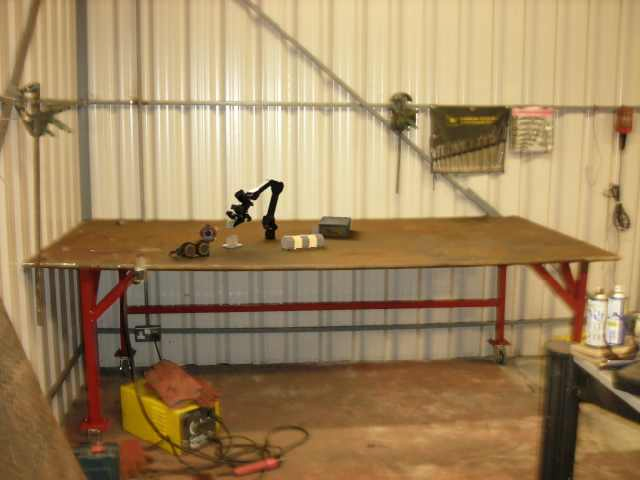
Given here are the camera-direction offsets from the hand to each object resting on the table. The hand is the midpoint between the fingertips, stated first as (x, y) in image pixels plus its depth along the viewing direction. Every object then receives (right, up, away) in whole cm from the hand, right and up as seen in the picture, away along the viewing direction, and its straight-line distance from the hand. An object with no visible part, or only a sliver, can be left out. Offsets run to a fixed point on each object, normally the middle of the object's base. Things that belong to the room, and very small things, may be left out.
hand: (232, 226), depth 414 cm
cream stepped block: (0, -12, +2) cm, 13 cm away
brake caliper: (-19, -9, +23) cm, 31 cm away
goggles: (-21, -17, -20) cm, 34 cm away
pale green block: (0, -1, 0) cm, 1 cm away
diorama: (+44, -13, +3) cm, 47 cm away
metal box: (+66, -4, +50) cm, 83 cm away
